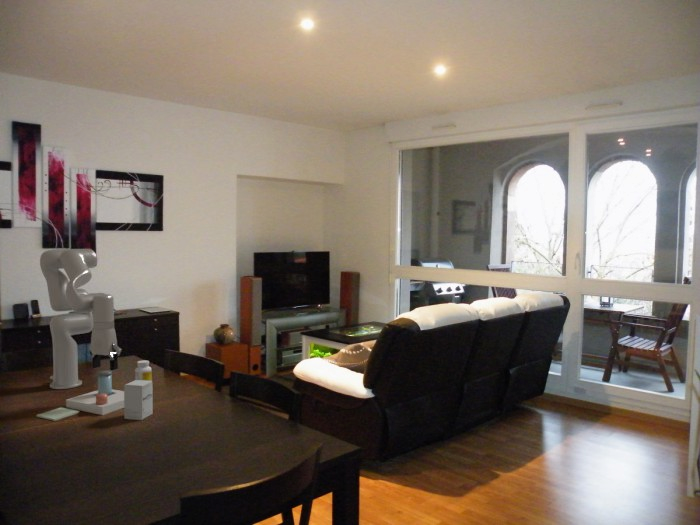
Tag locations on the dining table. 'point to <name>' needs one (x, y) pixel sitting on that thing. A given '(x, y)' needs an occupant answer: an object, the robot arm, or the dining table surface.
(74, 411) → the mat
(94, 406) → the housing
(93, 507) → the dining table surface
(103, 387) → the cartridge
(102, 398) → the knob
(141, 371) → the supplement bottle
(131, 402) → the supplement box
